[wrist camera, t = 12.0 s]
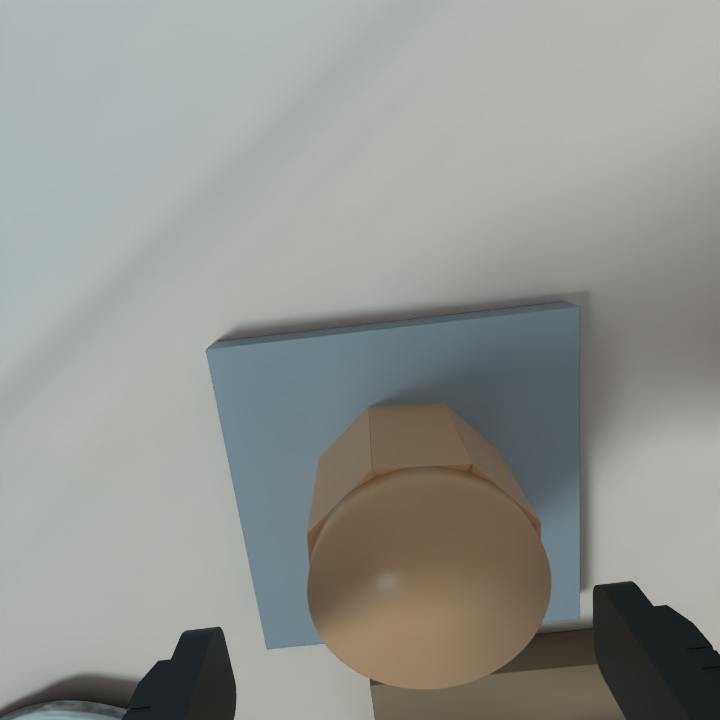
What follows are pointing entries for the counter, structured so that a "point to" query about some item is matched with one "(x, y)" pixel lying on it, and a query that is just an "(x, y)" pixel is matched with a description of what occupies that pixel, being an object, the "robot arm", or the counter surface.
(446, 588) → the cap
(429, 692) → the post stand
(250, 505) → the tile
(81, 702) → the salad plate
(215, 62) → the counter surface
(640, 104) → the counter surface
